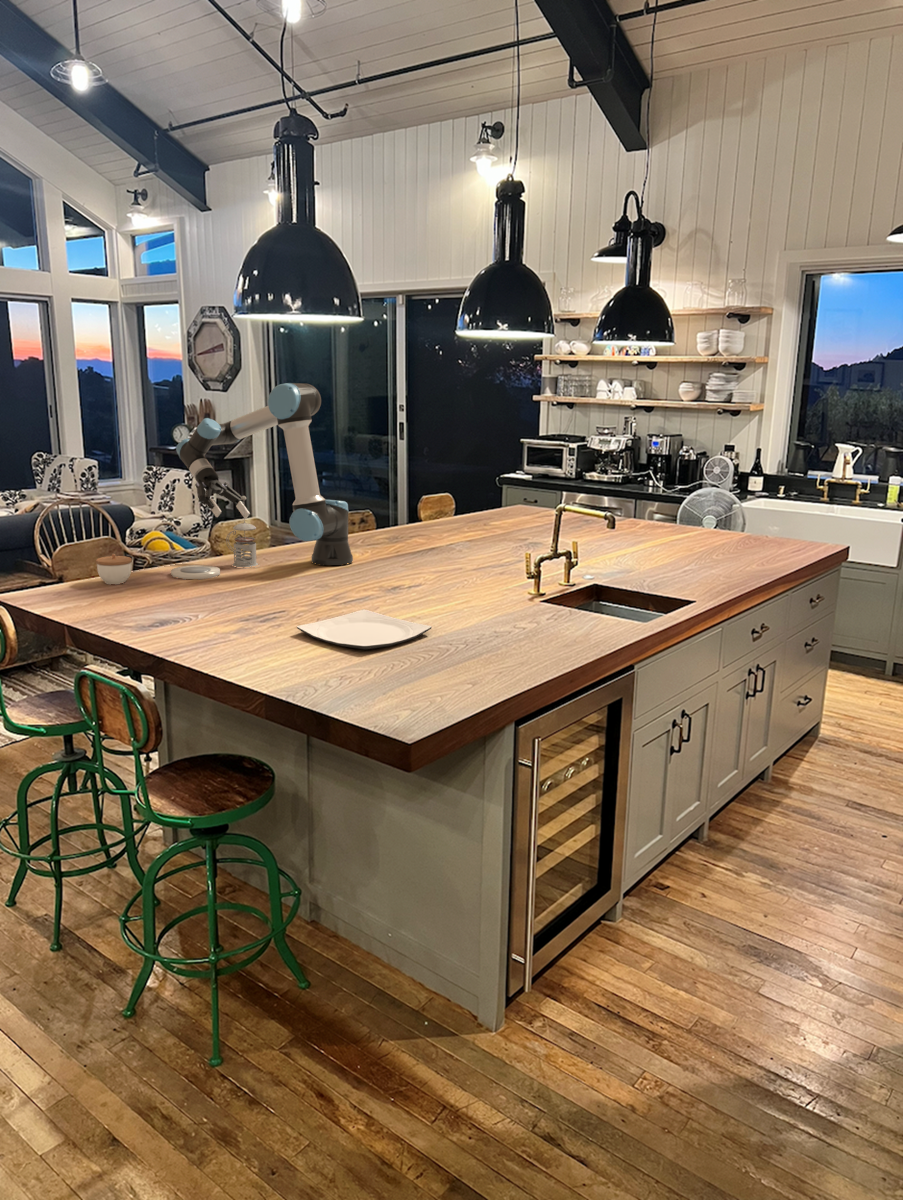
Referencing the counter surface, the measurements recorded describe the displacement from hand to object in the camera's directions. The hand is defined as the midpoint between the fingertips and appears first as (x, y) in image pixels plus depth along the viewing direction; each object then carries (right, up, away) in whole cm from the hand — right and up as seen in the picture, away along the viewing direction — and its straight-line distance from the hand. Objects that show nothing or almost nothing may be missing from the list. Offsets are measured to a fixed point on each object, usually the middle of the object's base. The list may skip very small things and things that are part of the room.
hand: (233, 515), depth 325 cm
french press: (+3, -18, +3) cm, 18 cm away
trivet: (-10, -21, -13) cm, 27 cm away
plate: (+54, -40, -78) cm, 103 cm away
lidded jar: (-32, -25, -28) cm, 49 cm away
